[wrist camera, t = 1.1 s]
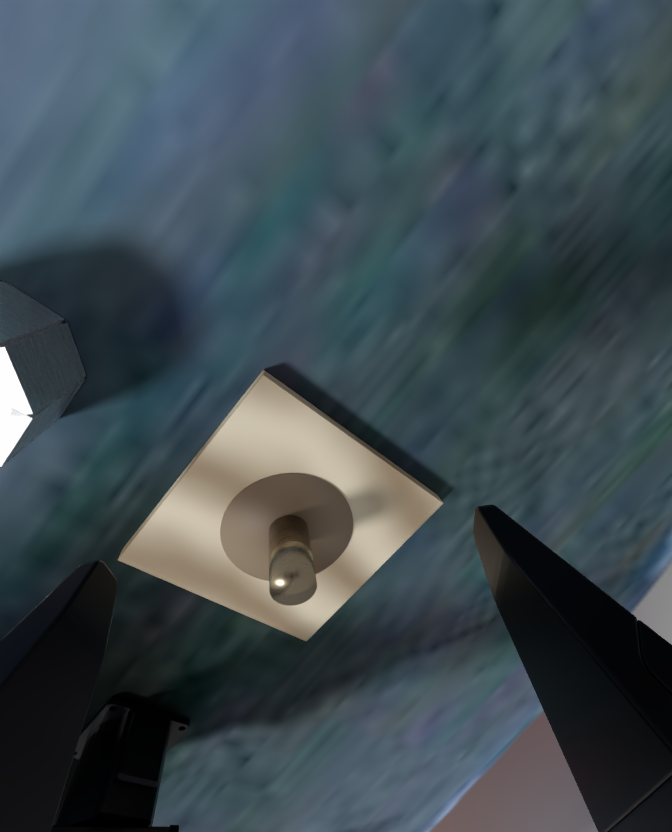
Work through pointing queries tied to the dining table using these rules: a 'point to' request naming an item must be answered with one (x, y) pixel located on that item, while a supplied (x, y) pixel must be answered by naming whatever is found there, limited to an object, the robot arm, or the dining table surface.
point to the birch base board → (279, 509)
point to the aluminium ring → (33, 369)
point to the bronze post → (290, 561)
